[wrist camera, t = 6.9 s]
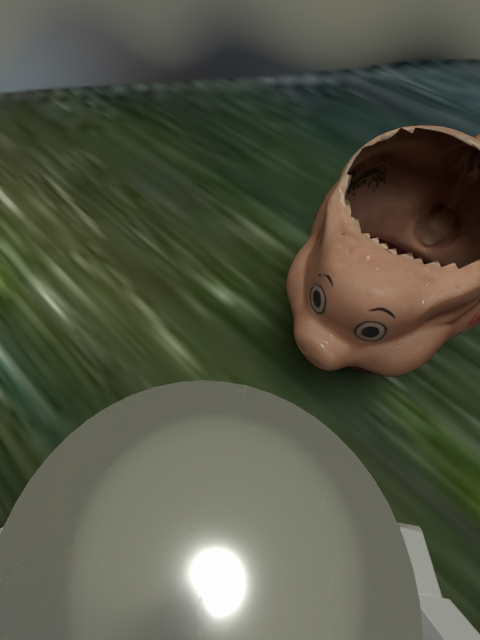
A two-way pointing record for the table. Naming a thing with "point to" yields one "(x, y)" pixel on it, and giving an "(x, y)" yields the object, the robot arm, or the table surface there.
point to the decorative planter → (392, 255)
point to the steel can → (205, 529)
